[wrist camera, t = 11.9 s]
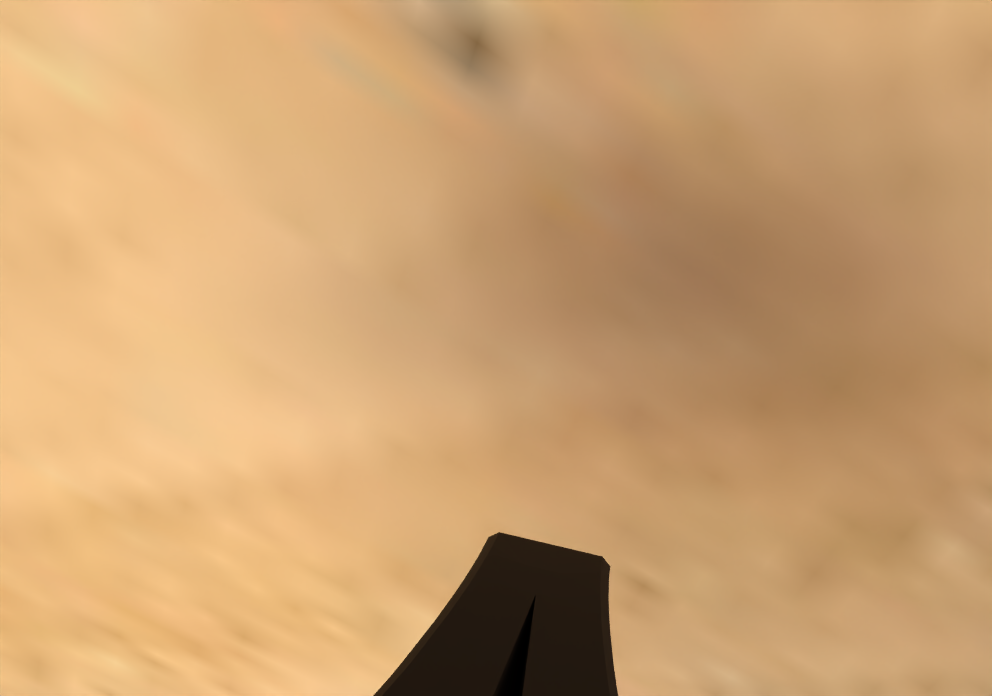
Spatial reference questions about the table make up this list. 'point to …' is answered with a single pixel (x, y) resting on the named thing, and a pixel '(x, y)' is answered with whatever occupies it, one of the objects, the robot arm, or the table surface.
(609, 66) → the table surface
